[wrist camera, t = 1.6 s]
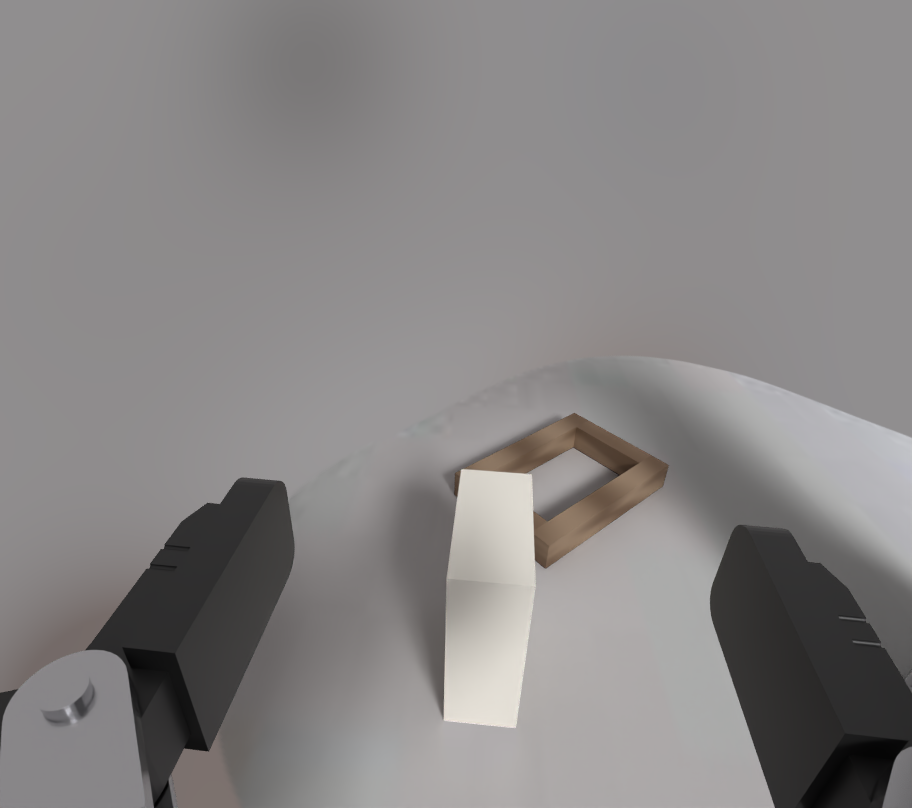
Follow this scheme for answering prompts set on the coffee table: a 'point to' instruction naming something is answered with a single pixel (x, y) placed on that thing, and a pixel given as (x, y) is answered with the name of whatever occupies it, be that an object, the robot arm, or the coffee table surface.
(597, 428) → the frame
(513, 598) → the key block
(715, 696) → the coffee table surface
